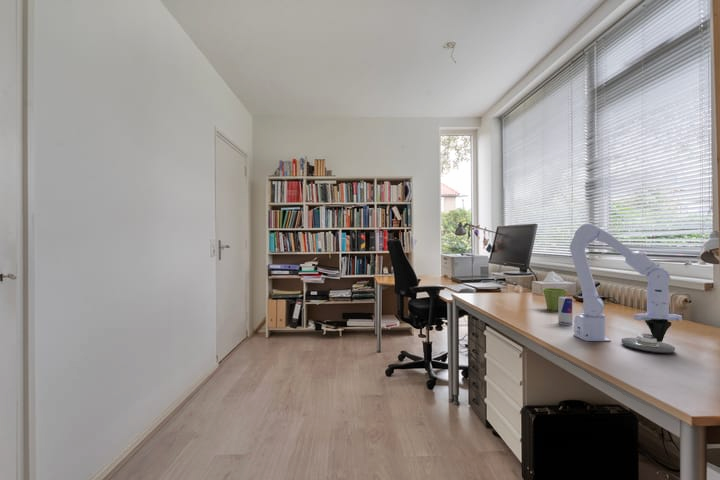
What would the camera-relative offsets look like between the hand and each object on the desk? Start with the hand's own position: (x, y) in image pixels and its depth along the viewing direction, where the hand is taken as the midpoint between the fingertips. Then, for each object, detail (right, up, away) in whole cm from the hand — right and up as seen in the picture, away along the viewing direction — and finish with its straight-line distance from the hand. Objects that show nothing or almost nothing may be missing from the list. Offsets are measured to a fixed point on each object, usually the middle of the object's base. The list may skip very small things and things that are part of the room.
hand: (657, 341), depth 113 cm
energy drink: (-11, -3, +34) cm, 35 cm away
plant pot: (+2, -3, +64) cm, 64 cm away
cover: (-4, -1, 0) cm, 4 cm away
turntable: (-4, -3, 0) cm, 4 cm away
